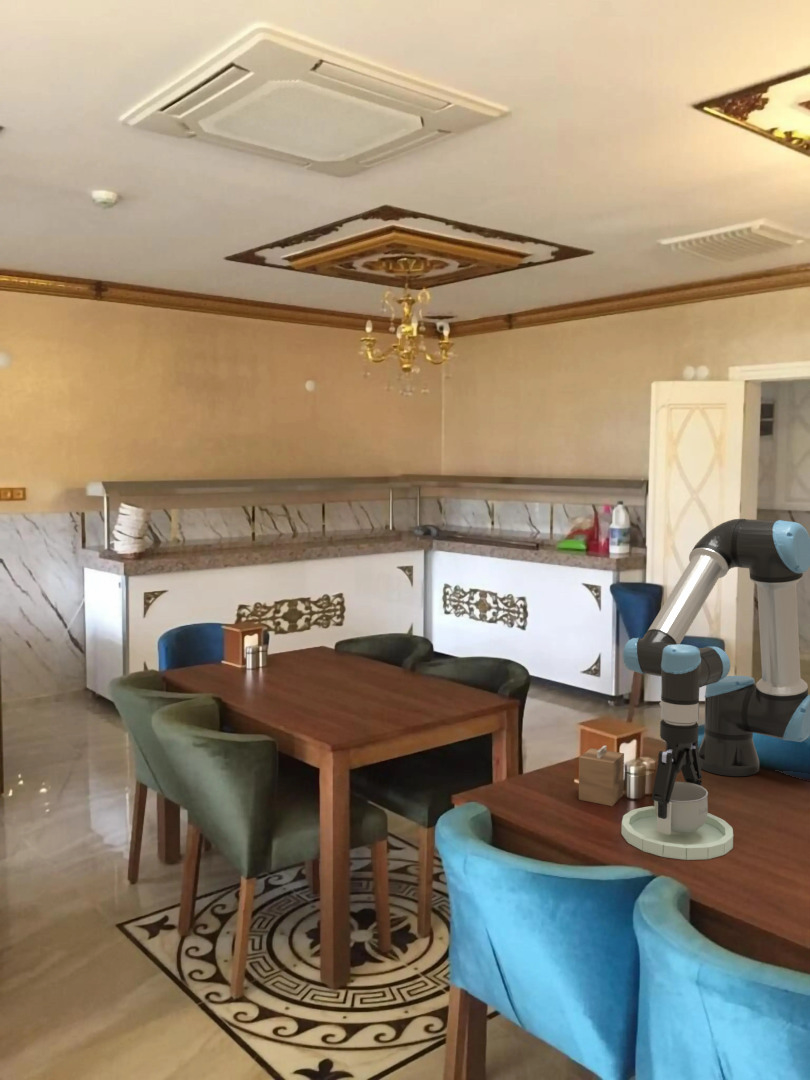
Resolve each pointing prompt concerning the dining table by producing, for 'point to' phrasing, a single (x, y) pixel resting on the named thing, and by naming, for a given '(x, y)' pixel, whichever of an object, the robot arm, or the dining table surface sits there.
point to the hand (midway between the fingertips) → (676, 823)
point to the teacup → (687, 807)
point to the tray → (677, 837)
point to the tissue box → (601, 776)
